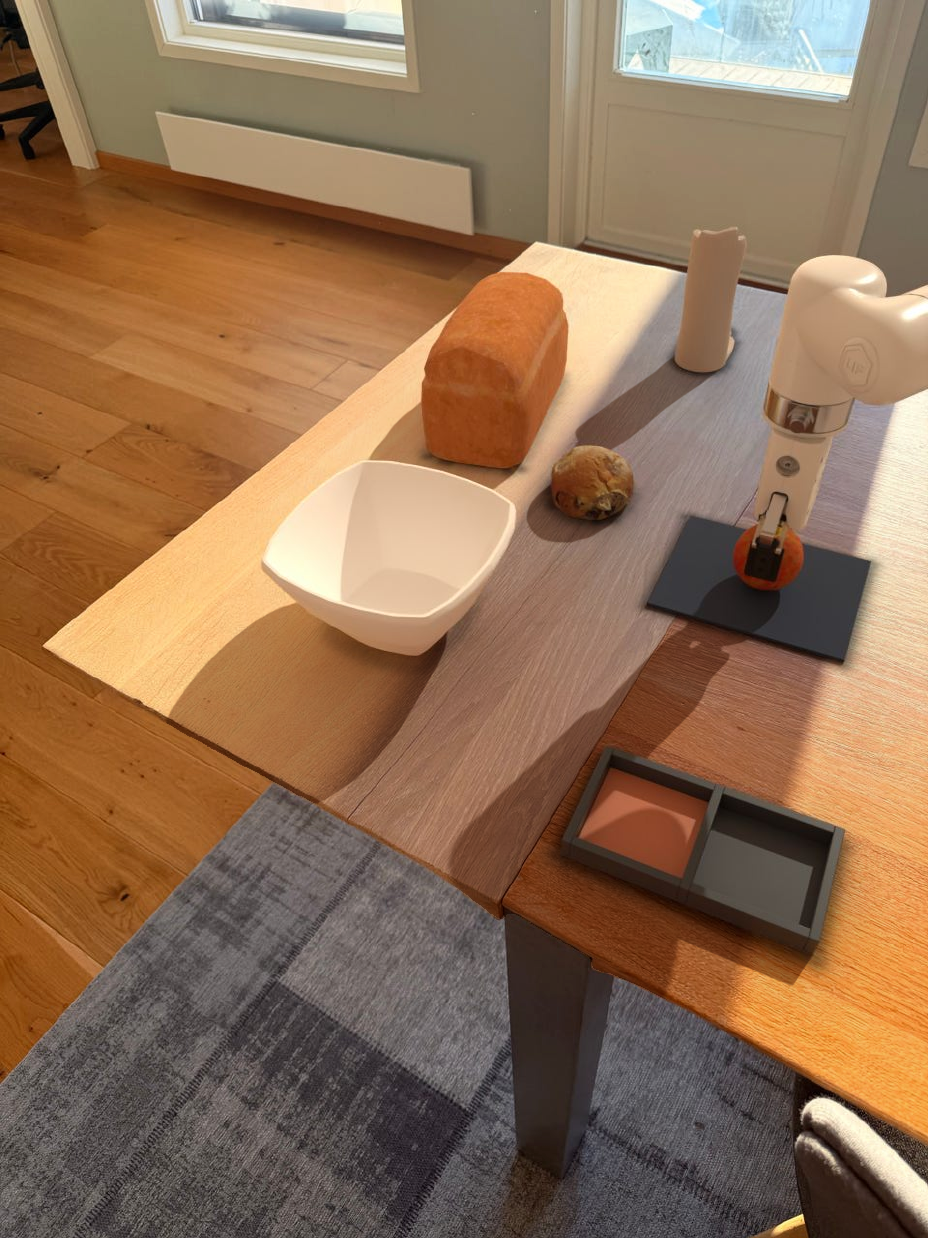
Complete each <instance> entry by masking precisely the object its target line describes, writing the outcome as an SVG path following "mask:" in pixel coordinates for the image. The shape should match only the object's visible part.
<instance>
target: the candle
mask: <svg viewBox="0 0 928 1238" xmlns="http://www.w3.org/2000/svg"><path fill="white" fill-rule="evenodd" d="M690 243H691V244H690V251H689V252H690V253H689V257H688V265H687V269H686V270H687V271H686V278H685V284H684V293H683V294H684V295H683V303H682V315H681V322H680V327H679V333H678V338H677V342H676V343H677V344H676V347H675V354H674V361H675V364H677V366H679V367H680V368H682V369H684V370H687V371H689V372H695V373H711V372H712V373H713V372H715V371H719V370H720V369H722V368H723V367H724V366H726V363H727V360H728V359H729V357H730V355H731V354H732V352H733V350H734V347H735V343H736V341H735V339H734V337H733V336H732V324H733V323H732V322H733V314H734V313H733V312H734V305H735V304H734V303H735V298H736V292H737V287H738V282H739V278H740V274H741V271H742V267H743V262H744V259H745V254H746V251H747V239H746V236H745V235H739V228H738V227H737V226H731V227H728V228H725V229H722V230H718V231H712V230H709V229H703V230H701V229H697V228H696V229H693V232H692V235H691V242H690Z"/></svg>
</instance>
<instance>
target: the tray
mask: <svg viewBox="0 0 928 1238" xmlns="http://www.w3.org/2000/svg"><path fill="white" fill-rule="evenodd" d="M845 833H846V828H844V827H841V826H838V825H836V824H832V823H830V822H827V821H824V820H821V819H818V818H815V817H812V816H810V815H807V814H805V813H801V812H799V811H796V810H793V809H790V808H787V807H784V806H781V805H778V804H776V803H773V802H771V801H768V800H764V799H762V798H759V797H756V796H753V795H750V794H747V793H744V792H742V791H739V790H737V789H733V788H730V787H727V786H724V785H722V784H718V783H716V782H713V781H711V780H708V779H705V778H702V777H699V776H697V775H695V774H691V773H687V772H686V771H682V770H680V769H676V768H673V767H670V766H668V765H665V764H662V763H659V762H656V761H654V760H651V759H648V758H645V757H643V756H639V755H636V754H634V753H631V752H628V751H626V750H623V749H620V748H617V747H613V746H611V745H608V744H607V745H605V747H604V749H603V750H602V752H601V755H600V757H599V759H598V761H597V763H596V766H595V768H594V770H593V772H592V774H591V776H590V778H589V781H588V782H587V785H586V787H585V790H584V791H583V793H582V796H581V798H580V799H579V802H578V804H577V806H576V808H575V810H574V813H573V814H572V816H571V819H570V821H569V823H568V825H567V828H566V829H565V832H564V834H563V836H562V838H561V841H560V842H561V844H560V856H563V857H566V858H568V859H570V860H572V861H575V862H578V863H580V864H582V865H584V866H587V867H590V868H592V869H595V870H597V871H600V872H602V873H604V874H606V875H607V874H608V875H610V876H612V877H615V878H617V879H620V880H622V881H625V882H627V883H630V884H632V885H635V886H637V887H640V888H642V889H645V890H647V891H650V892H652V893H655V894H657V895H660V896H662V897H664V898H667V899H670V900H672V901H674V902H677V903H679V904H682V905H685V906H687V907H689V908H692V909H695V910H696V911H698V912H699V911H700V912H702V913H703V914H707V915H709V916H712V917H714V918H717V919H719V920H722V921H724V922H726V923H729V924H731V925H733V926H736V927H739V928H741V929H743V930H747V931H748V932H751V933H754V934H756V935H759V936H761V937H763V938H767V939H769V940H771V941H774V942H776V943H778V944H781V945H783V946H786V947H789V948H791V949H793V950H795V951H799V952H801V953H803V954H806V955H808V956H811V957H813V956H814V954H815V952H816V950H817V948H818V946H819V945H820V943H821V938H822V933H823V929H824V926H825V925H824V924H825V920H826V916H827V912H828V907H829V903H830V898H831V895H832V889H833V886H834V881H835V877H836V872H837V867H838V863H839V859H840V854H841V850H842V846H843V841H844V837H845Z"/></svg>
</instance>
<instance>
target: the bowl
mask: <svg viewBox="0 0 928 1238" xmlns="http://www.w3.org/2000/svg"><path fill="white" fill-rule="evenodd" d="M516 521H517V509H516V505H515V504H514V503H513V502H512V500H510V499H508V498H507V497H505V496H504V495H502V494H500V493H498V492H497V491H496V490H494V489H492V488H490V487H488V486H485V485H482V484H480V483H478V482H476V481H474V480H470V479H468V478H465V477H463V476H460V475H459V476H458V475H455V474H453V473H450V472H447V471H444V470H439V469H436V468H432V467H426V466H422V465H418V464H411V463H405V462H398V461H394V460H393V461H392V460H365V459H364V460H360V461H358V462H356V463H354V464H351V465H349V466H348V467H346V468H344V469H342V470H340V471H338V472H337V473H335V474H333V476H331V477H330V478H329V479H327V480H326V481H324V482H323V483H321V484H320V485H319V486H317V488H315V489H314V490H313V491H312V492H310V493H309V494H308V495H307V496H306V497H305V498H304V499H302V500H301V501H300V502H299V503H298V504H297V505H296V507H294V509H293V510H292V511H291V512H289V514H288V515H287V517H286V518H284V520H283V521H282V522H281V523H280V525H279V527H278V528H277V529H276V531H275V532H274V533H273V535H272V536H271V538H270V539H269V541H268V542H267V544H266V545H267V546H266V548H265V551H264V554H263V556H262V559H261V561H260V562H261V563H260V567H261V571H262V572H263V573H265V575H267V576H268V577H269V578H270V579H271V580H272V581H273V582H274V583H275V584H276V585H277V586H278V587H279V588H280V589H281V590H283V591H284V592H285V593H286V594H287V595H288V596H289V597H290V598H291V599H292V600H294V601H295V602H296V603H297V604H298V605H300V607H301V608H303V609H304V610H305V611H306V612H307V613H308V614H310V615H312V616H313V617H315V618H317V619H319V620H320V621H322V622H324V623H325V624H327V625H329V626H331V627H333V628H335V629H338V630H339V631H341V632H343V633H344V634H346V635H348V636H349V637H351V638H353V639H354V640H356V641H358V642H359V643H362V644H364V645H366V646H367V647H371V648H373V649H377V650H381V651H385V652H389V653H394V654H399V655H404V656H414V657H415V656H416V657H417V656H421V655H423V654H424V653H425V652H427V651H428V650H429V649H430V648H432V647H433V646H434V645H435V644H436V643H437V642H438V641H440V640H441V639H442V638H443V637H444V636H445V634H446V633H447V632H448V631H449V630H451V628H452V627H454V626H455V625H456V624H457V623H458V622H459V621H460V620H462V619H463V617H464V616H465V615H466V614H467V612H468V611H469V610H470V609H471V608H472V607H473V605H474V604H475V603H476V601H477V600H478V598H479V596H480V595H481V593H482V591H483V590H484V588H485V586H486V584H487V583H488V581H489V579H490V577H491V576H492V574H493V573H494V571H495V569H496V568H497V566H498V564H499V563H500V561H501V559H502V557H503V556H504V554H505V552H506V551H507V549H508V547H509V545H510V542H511V540H512V538H513V535H514V532H515V530H516Z"/></svg>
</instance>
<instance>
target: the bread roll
mask: <svg viewBox="0 0 928 1238" xmlns="http://www.w3.org/2000/svg"><path fill="white" fill-rule="evenodd" d="M550 474H551V475H550V476H551V479H550V480H551V481H550V487H551V489H550V490H551V491H550V492H551V494H552V501H553V504H554V506H556V508H558V510H559V511H561V512H562V513H563V514H564V515H566V516H568V517H571V518H574V519H579V520H587V521H593V520H597V521H600V520H603V519H606V518H609V517H611V516H613V515H615V514H617V513H618V512H620V511H621V510H622V509H624V507H625V506H626V505H627V504H628V503H629V502H630V501H631V500H632V497H633V493H634V485H635V481H634V473H633V470H632V467H631V465H630V464H629V462H628V461H627V460H626V459H625V458H623V456H621V455H620V454H618V453H617V452H615V451H613V450H611V449H609V448H606V447H605V446H601V445H600V446H599V445H578V446H576V447H573V448H571V449H570V450H568V451H567V452H565V453H564V454H562V456H561V457H560V458H559V459H557V461H556V462H555V463H554V464H553V466H552V468H551V473H550Z"/></svg>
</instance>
